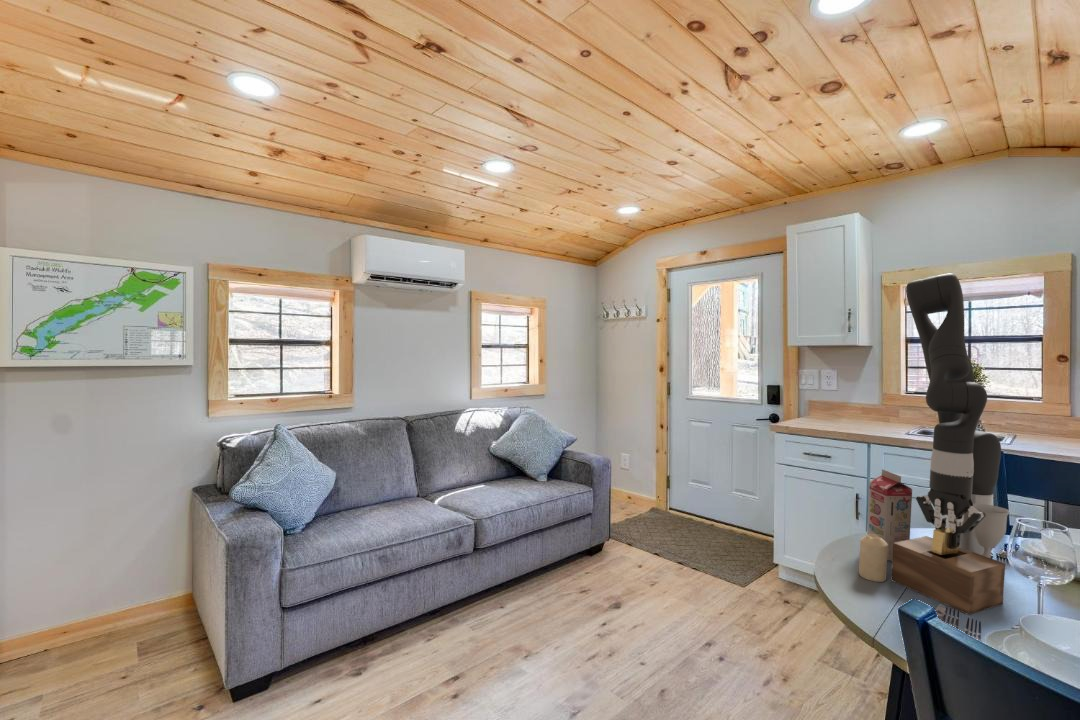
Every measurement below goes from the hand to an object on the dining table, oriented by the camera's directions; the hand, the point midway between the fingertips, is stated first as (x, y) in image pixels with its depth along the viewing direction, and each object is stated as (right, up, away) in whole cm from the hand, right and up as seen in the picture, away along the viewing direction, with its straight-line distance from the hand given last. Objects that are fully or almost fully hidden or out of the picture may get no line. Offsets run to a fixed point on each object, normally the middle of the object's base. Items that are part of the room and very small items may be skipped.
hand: (947, 546), depth 117 cm
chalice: (+12, -11, +4) cm, 17 cm away
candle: (-12, -10, +7) cm, 17 cm away
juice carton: (0, -10, +20) cm, 22 cm away
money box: (0, -11, +1) cm, 11 cm away
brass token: (-3, +1, -1) cm, 4 cm away
